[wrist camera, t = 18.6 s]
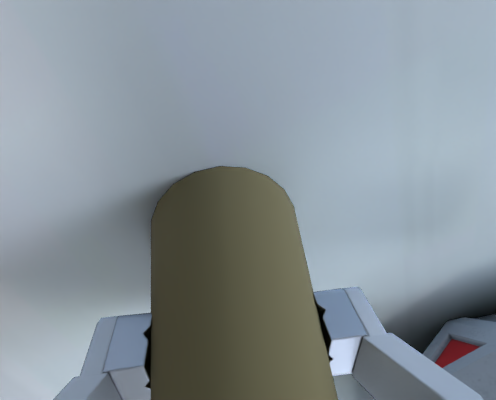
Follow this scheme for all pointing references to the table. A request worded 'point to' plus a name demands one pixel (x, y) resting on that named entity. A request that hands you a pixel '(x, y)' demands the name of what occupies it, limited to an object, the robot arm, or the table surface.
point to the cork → (233, 294)
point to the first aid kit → (468, 352)
